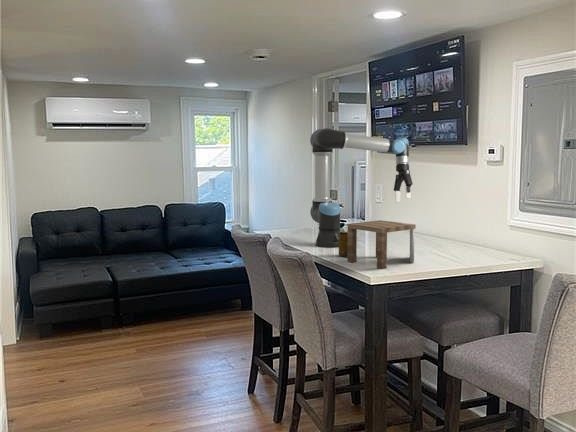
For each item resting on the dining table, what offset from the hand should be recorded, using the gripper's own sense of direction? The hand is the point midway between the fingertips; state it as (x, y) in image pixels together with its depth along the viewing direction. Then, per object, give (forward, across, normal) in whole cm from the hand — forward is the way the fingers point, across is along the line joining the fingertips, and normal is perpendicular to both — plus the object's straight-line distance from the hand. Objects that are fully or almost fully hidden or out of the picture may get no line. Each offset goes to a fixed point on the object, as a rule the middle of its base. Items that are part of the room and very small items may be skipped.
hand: (403, 200), depth 321 cm
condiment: (+36, -31, +46) cm, 67 cm away
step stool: (+40, -51, +36) cm, 74 cm away
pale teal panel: (+38, -51, +20) cm, 66 cm away
